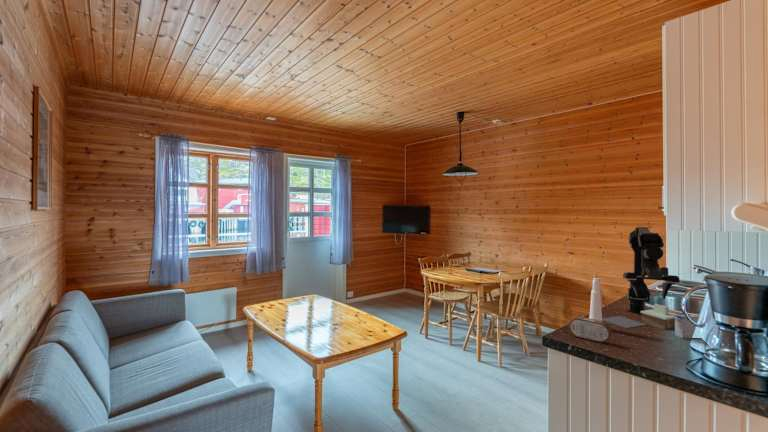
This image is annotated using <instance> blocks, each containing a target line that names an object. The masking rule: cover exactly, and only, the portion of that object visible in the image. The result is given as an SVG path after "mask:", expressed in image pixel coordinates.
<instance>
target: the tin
mask: <svg viewBox="0 0 768 432" xmlns="http://www.w3.org/2000/svg"><path fill="white" fill-rule="evenodd" d="M568 327H569V331H570V332H571V334H573V336H575V337H577V338H579V337H580V339H583V338H584V339H583V340H587V339H588V341H592V342H596V341H597V342H596V343H606V342H608V341H610V339H611V338H612V335H613V330H612V329H611V326H610V325H609V324H608V323H607V322H606V321H603V320H602V321H599V320H594V319H589V317H584V316H574V317H572V319H571V320H570V322H569V323H568Z"/></svg>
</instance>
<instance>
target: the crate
mask: <svg viewBox="0 0 768 432" xmlns="http://www.w3.org/2000/svg"><path fill="white" fill-rule="evenodd" d="M641 323H644V324H647V326H648V325H649V326H652V327H656V328H658V329H661V330H664V329H665V330H672V329H675V319H668V320H664V319H661V318H657V317H654V316H650V315H647V314H643V313H642V314H641ZM671 328H672V329H671ZM665 330H664V331H665Z"/></svg>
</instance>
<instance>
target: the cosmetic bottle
mask: <svg viewBox="0 0 768 432" xmlns="http://www.w3.org/2000/svg"><path fill="white" fill-rule="evenodd" d="M592 279H593V280H592V289H591V292H590V302H589V303H590V305H589V306H590V307H589V317H588V318H589V319H594V320H599V321H603V320H602V318H603V311H602V293H601V291H600V290H601V286H600V285H601V282H600V278H599V277H598V278H597V277H593V278H592Z"/></svg>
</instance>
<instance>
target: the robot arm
mask: <svg viewBox="0 0 768 432" xmlns="http://www.w3.org/2000/svg"><path fill="white" fill-rule="evenodd" d="M628 244H629V246H630V248H631V249H632V251H633V272H629V271H626V272H624V273H622V274H623V275H622V279H626V281H627V282H629V283H630V284H629V287H628V288H627V293H626V298H627V300H628V301H629V309H626V311H627V312H630V313H634V314H636V315H642V313H640V311H645V310H646V303H649V302H650V298H651V292H650V289H649V287H648V286H647V284H646V282H645V280H652V281H653V280H654V281H662V295H661V296H662V299H663V300H666V297H667V295H668V292H669V291H670V289H671V287H672V286H673V285H674V286H675V285H676V283H677V284H678V283H680V280H681V279H680V277H679V276H678V275H672V274H669V268H668V267H665V266H664V267H663V266H661V267H660V264H659V260H660V259H661V258H662V257H664V251H663V249H662V248H664V244H665V243H664V240H663V238H662V237H661V235H660V234H659V233H658V232H652V231H651V230H650V229H649V227H646V226H637V227H635V229H634V230H633V231H632V232H631V231H630V232H629V235H628ZM663 281H664V282H663Z"/></svg>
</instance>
